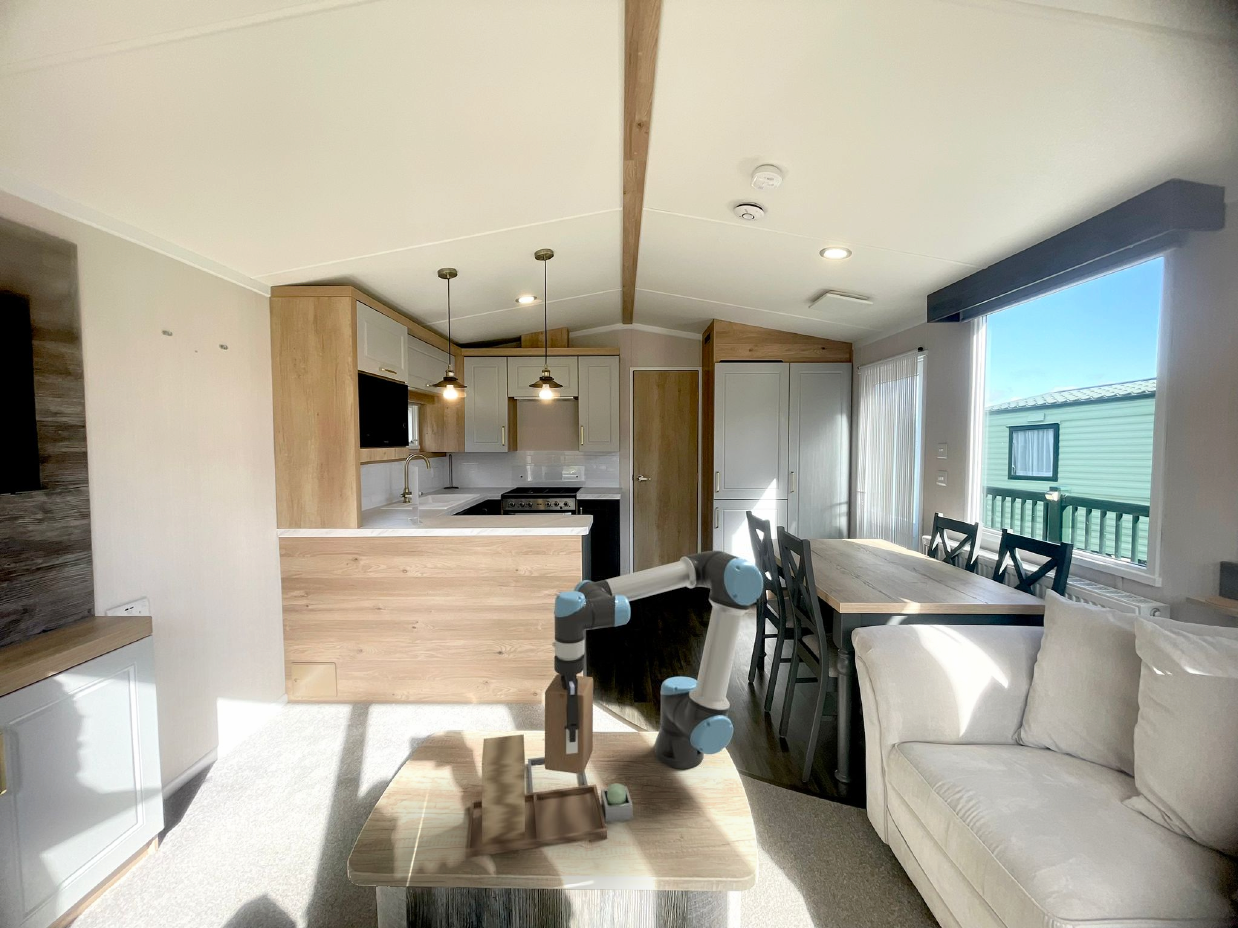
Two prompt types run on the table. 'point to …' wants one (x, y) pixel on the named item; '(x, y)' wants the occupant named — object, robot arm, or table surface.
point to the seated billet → (503, 789)
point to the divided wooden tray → (545, 821)
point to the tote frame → (541, 761)
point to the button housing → (616, 808)
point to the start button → (616, 794)
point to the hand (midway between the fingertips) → (568, 737)
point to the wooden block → (558, 720)
